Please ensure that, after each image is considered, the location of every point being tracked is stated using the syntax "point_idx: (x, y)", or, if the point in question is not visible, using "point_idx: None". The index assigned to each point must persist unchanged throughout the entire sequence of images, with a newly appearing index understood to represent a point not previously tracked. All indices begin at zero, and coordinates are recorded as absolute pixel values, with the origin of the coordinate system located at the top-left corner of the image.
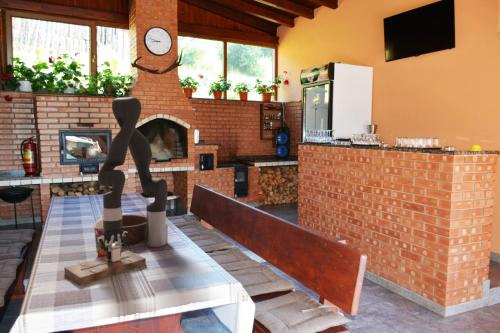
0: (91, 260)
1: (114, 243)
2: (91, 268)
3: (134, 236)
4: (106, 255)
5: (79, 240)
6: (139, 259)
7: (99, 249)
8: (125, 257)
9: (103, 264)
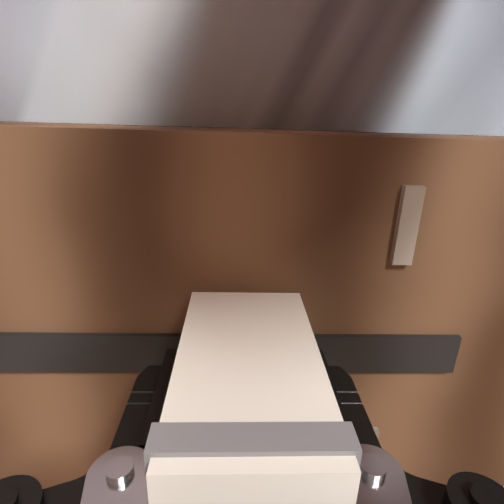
0: (11, 138)
1: (350, 499)
2: None
3: None
4: (131, 403)
5: None
6: (445, 481)
7: None
8: (391, 367)
9: (94, 374)
